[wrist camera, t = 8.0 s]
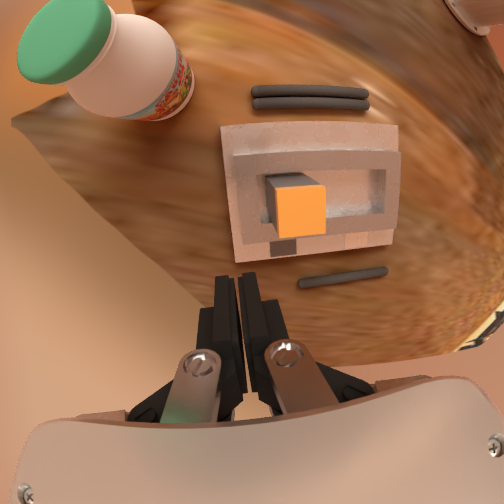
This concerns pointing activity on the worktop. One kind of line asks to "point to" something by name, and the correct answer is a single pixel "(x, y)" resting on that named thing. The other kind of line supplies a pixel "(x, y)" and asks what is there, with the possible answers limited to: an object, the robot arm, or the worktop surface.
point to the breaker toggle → (296, 205)
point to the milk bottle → (106, 60)
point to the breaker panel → (321, 170)
